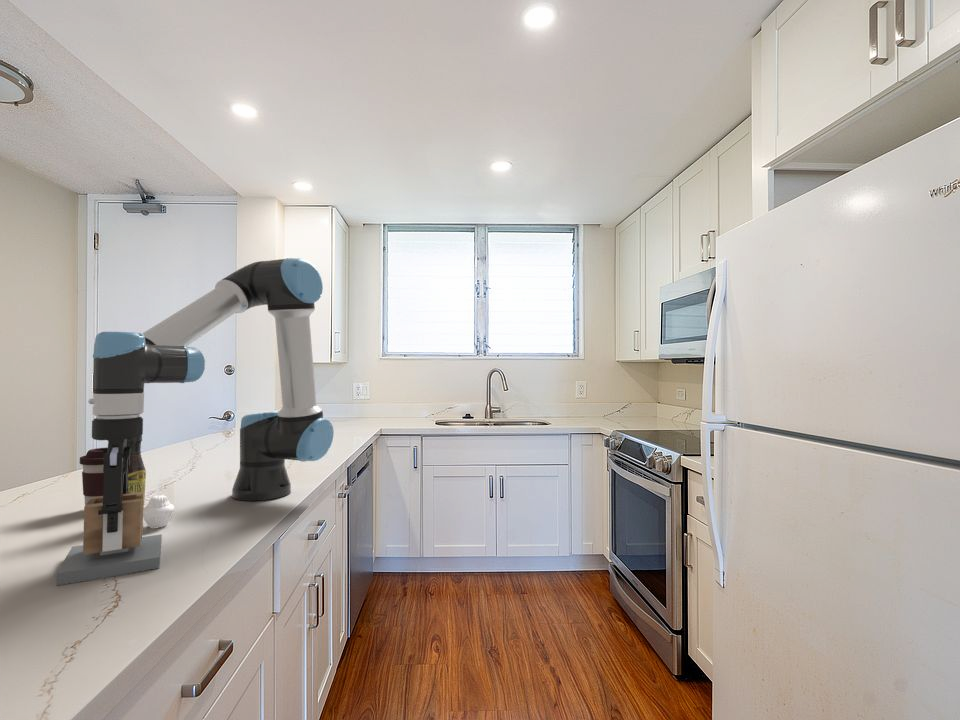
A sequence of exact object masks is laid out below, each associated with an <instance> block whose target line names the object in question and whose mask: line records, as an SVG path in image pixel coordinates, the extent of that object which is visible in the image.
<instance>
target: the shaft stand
mask: <svg viewBox="0 0 960 720" xmlns="http://www.w3.org/2000/svg"><path fill="white" fill-rule="evenodd" d="M162 536H163V535H162V534H161V533H160V534H155V535H147V536H142V539H141V544H140V546H139V547H132V548H125V549H118V550H112V551H105V552H98V553H91V554H84V555H83V544H81V545H75V546H71V548H70V549H69V552H68V553H67V555H66V557H65V558H64V559H63V562H62V563H61V565H60V567H59V568H58V570H57V572H56V574H55V575H56V576H55V587H56V586H57V585H58V586H63V585H62V584H64V585H68V584H67V583H70V584H74V583H73V582H76V583H80V581H82V582H86V581H87V580H88V581H92V580H99V579H105V578H110V577H115V576H117V577H118V576H122V575H129V574H134V573H133V572H135V573H138V572H137V571H141V572H145V571H144V570H147V571H151V570H150V569H153V570H157V569H156V568H159V569H160V565H161V564H160V563H161V555H162V545H161V544H162V541H163V539H162ZM160 554H161V555H160ZM128 573H129V574H128Z"/></svg>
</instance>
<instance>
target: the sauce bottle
mask: <svg viewBox="0 0 960 720" xmlns="http://www.w3.org/2000/svg"><path fill="white" fill-rule="evenodd" d="M142 441H143V435H142V436H141V437H138V438H133V439H127V443H129V447H131V456H130V466H129V468H128V488H129V491H128V493H136V492H144V500H143V509H144V508H145V500H146V499H145V497H146V496H145V495H146V493H145V492H146V479H147V477H146V476H147V474H146V473H147V470H146V467H145V464H144V461H143V458H142V452H141V448H142Z"/></svg>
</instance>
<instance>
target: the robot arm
mask: <svg viewBox="0 0 960 720" xmlns="http://www.w3.org/2000/svg"><path fill="white" fill-rule="evenodd" d="M322 293H323V281H322V277H321V275H320V273H319V271H318V269H317V267H315V266H314V264H313V263H311V262H310V261H309V260H307V259H305V258H295V257H294V258H292V257H290V258H283V259H282V258H281V259H280V258H279V259H273V260H272V259H271V260H260V261H255V262H251V263H249V264H246V265H245V266H243V267H241V268H239V269H237V270H235V271H234V272H232V273H230V274H229V275H227V276H225V277H224V278H222V279H220V280H219V281H217V282H216V283H215V285H214V289H212V290H211V291H209V292H207V293H206V294H203V296H200V297H199V298H197V299H196V300H194V301H193V302H191V303H189V304H187V306H184V307H183V308H182V309H180V310H178V311H176V312H175V313H173V314H171V315H170V316H168V317H166V318H165V319H164V320H161V321H160V322H159V323H157V324H155V325H154V326H152V327H150V328H149V329H147V330H146V331H144V332H142V333H141V332H132V331H131V332H130V331H101V332H98V333H97V334H96V336H95V339H94V344H93V354H92V358H93V365H92V366H93V371H92V373H93V375H92V377H93V379H92V380H93V381H92V383H93V384H92V390H93V391H92V393H93V394H92V398H89V400H88V404H89V405H93V406H92V415H93V416H94V417H96V418H93V420H91V438H92V439H93V440H95V441H108V443H107V447H108V448H107V447H104V448H105V450H103V456H102V457H103V460H104V466H103V473H104V488H103V507H102V510H98V515H100V514H103V546H102V552H105V551H112V550H118V549H122V532H123V511H122V509H123V507H122V496H123V494H126V493H128V491H129V488H128V468H129V466H130V456H131V447H129V443H127V439H133V438H138V437H141V436H142V437H143V433H144V432H143V431H144V418H143V417H142V416H141V415H142V414H143V413H144V412H145V411H144V407H145V403H144V402H145V391H144V390H145V389H144V388H145V384H175V383H177V384H186V383H193V382H197V381H198V380H199V379H200V378H201V377H202V376H203V374H204V372H205V369H206V368H205V365H206V364H205V363H206V359H205V356H204V354H203V353H202V351H200V350H199V349H198V348H196V347H194V346H193V347H192V346H189V345H191V344H192V343H195V341H197V340H198V339H199V338H201V337H203V335H205V334H207V333H208V332H210V331H211V330H213V329H214V328H215V327H217V326H218V325H220V324H221V323H224V321H226V320H227V319H228V318H230V317H232V316H233V315H234V314H243V313H244V312H246V311H247V310H249V309H251V308H254V307H259V306H266V305H267V312H268V313H269V314H270V315H272V317H273V318H274V320H275V321H274V322H275V332H276V344H277V355H278V358H277V359H278V368H279V377H280V378H279V379H280V381H279V382H280V391H281V402H282V403H281V404H282V407H281V409H280V410H276V411H270V412H259V413H251V414H245V415H244V416H242V417H241V418H240V419H241V420H240V428H239V470H238V472H237V474H236V477H235V480H234V483H233V486H232V490H231V497H232V499H234V500H238V501H243V502H246V501H248V502H250V501H253V502H255V501H267V500H274V499H278V498H282V497H285V496H288V495H289V494H291V492H292V491H291V490H292V489H291V488H292V487H291V485H292V484H291V481H290V478H289V475H288V472H287V470H286V465H285V463H286V460H290V461H291V460H292V461H299V462H305V463H306V462H316V461H319V460H320V459H322V458H323V457H325V456H326V455H327V454H328V451H329V450H330V449H331V446H332V444H333V439H334V434H335V433H334V431H335V430H334V426H333V424H332V423H331V421H330V420H329V419H328V418H326V417H324V413H323V411H324V410H323V407H321V406H320V405H319V404H317V397H316V384H315V372H314V359H313V358H314V357H313V345H312V336H311V321H310V316H311V314H312V313H313V312H314V311H315V307H316V306H315V303H316V302H318V301H319V300H320V299H321V297H322ZM108 504H113V505H108Z"/></svg>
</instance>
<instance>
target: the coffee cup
mask: <svg viewBox="0 0 960 720" xmlns="http://www.w3.org/2000/svg"><path fill="white" fill-rule="evenodd" d="M105 448H108V446H107V447H97V448H92V449H89V450H87V453H86V455H83V456H80V457H79V464H80V465H81V466H82V472H81V476H82V477H81V478H82V494H83V496H84V506H85V505H86V504H87V503H88V501H89V500H90V498H91V497H96V496H103V488H104V473H103V466H104V460H103V457H102V456H103V450H105Z"/></svg>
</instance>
